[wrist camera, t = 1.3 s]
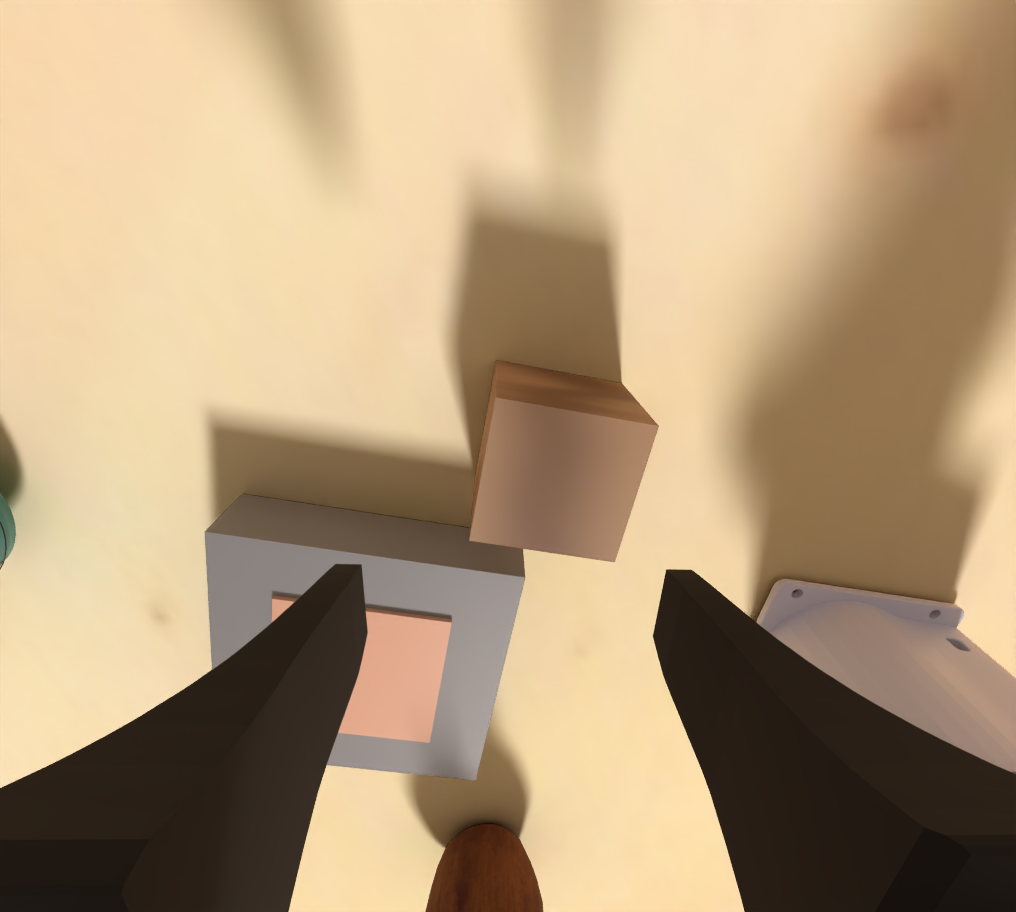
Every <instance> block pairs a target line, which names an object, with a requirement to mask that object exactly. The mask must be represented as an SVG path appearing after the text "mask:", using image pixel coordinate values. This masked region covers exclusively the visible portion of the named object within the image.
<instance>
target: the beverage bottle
mask: <svg viewBox="0 0 1016 912" xmlns="http://www.w3.org/2000/svg"><path fill="white" fill-rule="evenodd" d="M15 536H16V530H15V522H14V518H13V515H12V512H11V510H10V508H9V506H8V504H7V502H6V500H5V499H4V497H3V496H2V494H1V493H0V566H1V565H3V564H4V561H5V559H6V558H7V557H8V556H9V554H10V552H11V551H12V549H13V546H14V543H15ZM1 567H2V566H1ZM1 567H0V569H1Z"/></svg>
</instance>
